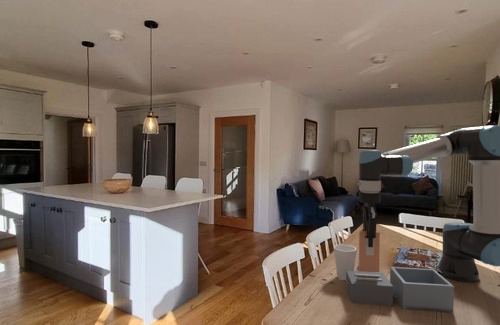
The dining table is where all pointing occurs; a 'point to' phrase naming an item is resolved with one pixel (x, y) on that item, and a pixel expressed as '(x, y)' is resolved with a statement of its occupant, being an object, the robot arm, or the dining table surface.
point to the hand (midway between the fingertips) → (369, 253)
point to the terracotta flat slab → (368, 261)
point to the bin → (422, 289)
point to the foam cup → (344, 259)
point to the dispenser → (369, 288)
